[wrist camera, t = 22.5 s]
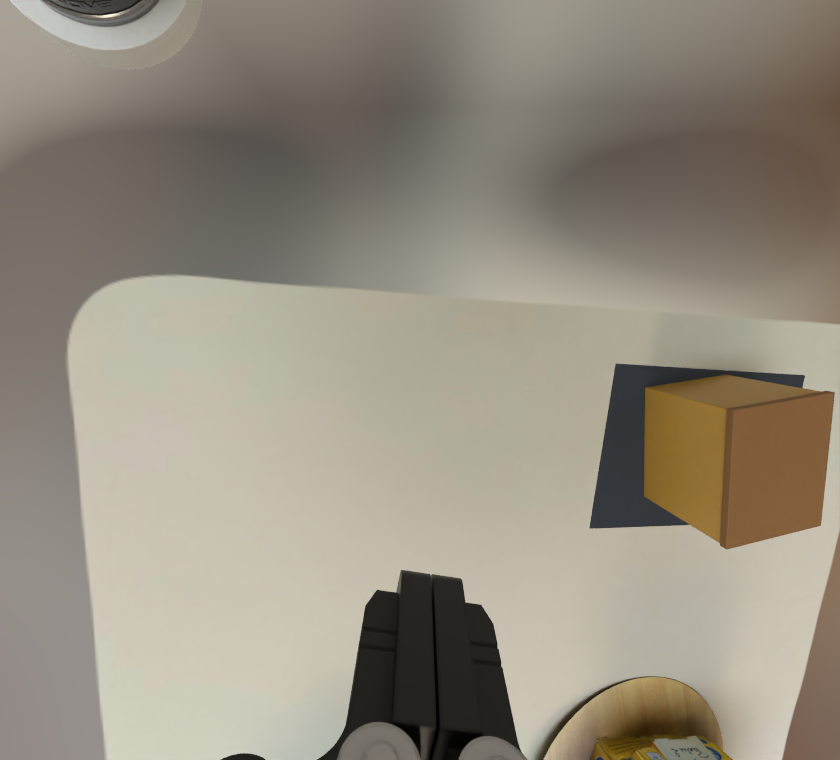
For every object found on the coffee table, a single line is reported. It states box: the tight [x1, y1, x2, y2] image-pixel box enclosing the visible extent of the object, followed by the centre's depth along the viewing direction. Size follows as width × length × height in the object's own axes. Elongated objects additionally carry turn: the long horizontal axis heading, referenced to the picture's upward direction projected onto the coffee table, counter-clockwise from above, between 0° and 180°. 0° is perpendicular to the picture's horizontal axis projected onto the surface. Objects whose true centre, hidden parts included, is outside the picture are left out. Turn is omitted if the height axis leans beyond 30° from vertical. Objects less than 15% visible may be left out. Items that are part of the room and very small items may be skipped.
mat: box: [590, 364, 805, 528], centre depth 42 cm, size 16×22×1 cm
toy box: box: [644, 375, 835, 549], centre depth 36 cm, size 9×11×9 cm
